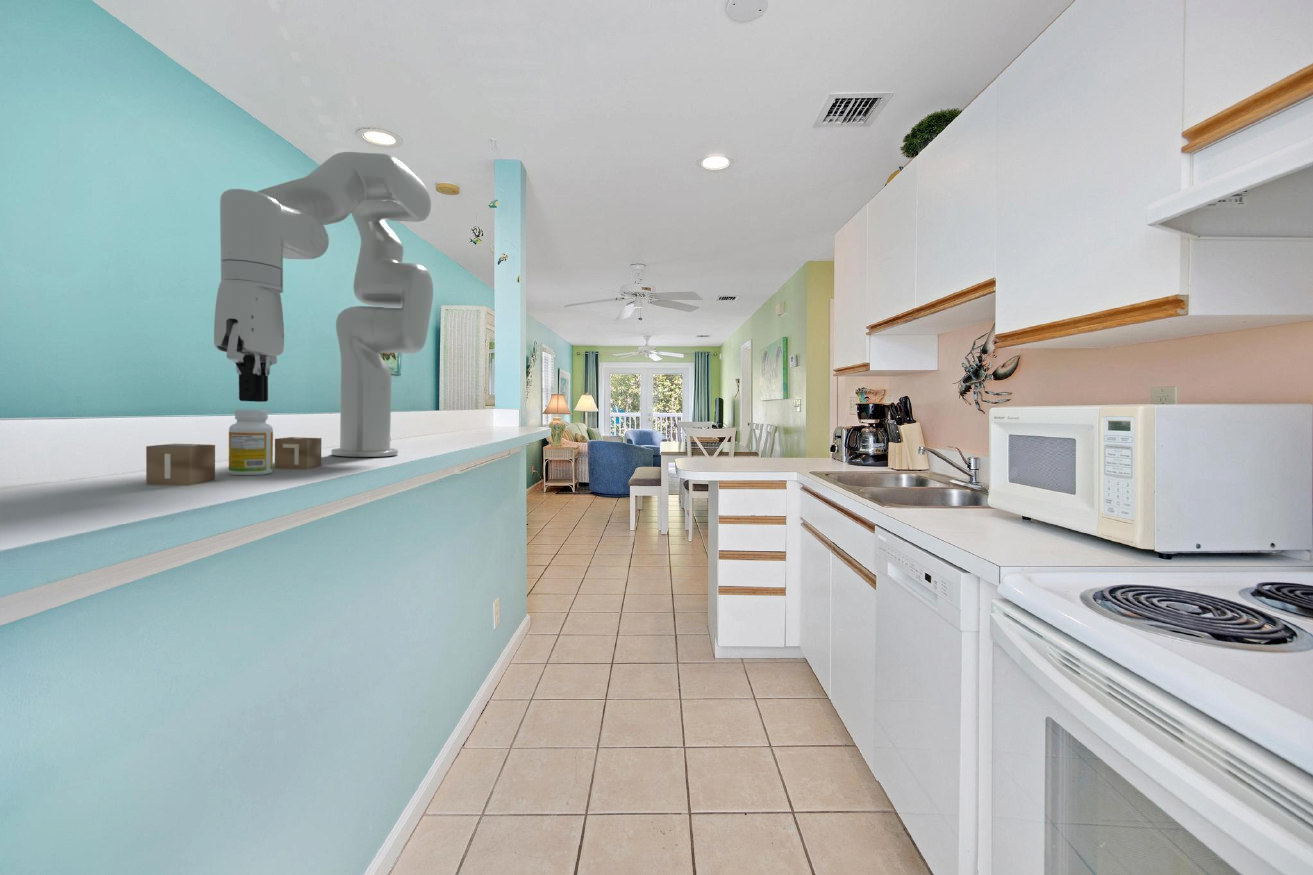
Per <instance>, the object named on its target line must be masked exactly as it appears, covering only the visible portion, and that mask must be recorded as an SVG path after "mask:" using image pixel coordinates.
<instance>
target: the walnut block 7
mask: <svg viewBox="0 0 1313 875" xmlns="http://www.w3.org/2000/svg"><path fill="white" fill-rule="evenodd" d="M321 466H322V437H298V436H294V437H292V436H289V437H282V438H281V437H279V438H274V469H284V470H287V469H288V470H289V469H291V470H292V469H293V470H308V469H314V468H320V467H321Z"/></svg>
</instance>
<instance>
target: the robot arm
mask: <svg viewBox="0 0 1313 875" xmlns="http://www.w3.org/2000/svg"><path fill="white" fill-rule="evenodd" d="M431 209H432V202H431V197H430V193H429V192H428V189H427V187H426V185H425V184H424V183H423V182H422V180H421V179H420V178H419V177H418V176H416V174H415V173H414V172H412V171H411V170H410V168H409V167H408V166H407V165H405V164H404V163H403V162H402V161H400V160H399V159H397V158H396V157H395V156H392V155H390V154H387V153H378V152H377V153H375V152H358V151H341V152H337V153H335V154H333V155H332V156H330V157H329V158H328V159H326V160H325V161H324V162H323V163H321V164H320V165H319V166H317V167H316V168H315V169H314V170H312V171H311V172H310V173H309V174H308V175H306V176H304V177H301V178H296V179H293V180H289V181H287V182H283V183H280V184H277V185H273V186H269V187H266V188H263V189H259V190H257V191H254V190H250V189H244V188H243V189H242V188H231V189H227V190H225V191H223V192H222V193H221V195H220V201H219V214H220V215H219V218H220V219H219V222H220V224H219V228H220V230H219V231H220V233H219V234H220V237H219V239H220V240H219V241H220V282H219V285H218V289H217V294H216V300H215V311H214V323H213V324H214V325H213V326H214V327H213V328H214V329H213V343H214V348H216V350H218V351H220V352H223V353H226V358H227V359H228V360H230V361H231V362H234V364H235V369H236V373H237V375H238V400H239V401H241V402H257V403H260V402H261V403H262V402H264V403H266V402H268V401H269V376H270V374H271V373H270V372H271V367H272V366H273V365H276V364H277V362H278V357H279V356H281V355H282V354H283V353H284V347H285V327H284V326H285V325H284V312H283V303H282V302H283V301H282V297H281V294H283V293H284V265H283V264H284V261H283V260H284V259H286V260H287V259H288V260H289V259H290V260H314V259H317V258H320V257H322V256H323V255H325V253H326V252H327V251H328V248H329V244H330V241H329V239H330V237H329V234H328V231H327V229H326V227H325V226H328V225H332V224H337V223H340V222H342V221H344V220H345V219H347V218H348V217H349V216H350V214H351V215H352V218H353V221H354V223H355V224H356V228H357V230H358V233H359V237H360V248H359V254H358V259H357V262H356V263H357V264H356V269H355V273H354V280H353V293H354V295H355V297H356V299H357V300H358V301H360V303H362V304H365V305H359V306H358V305H357V306H350V307H347V308H344V309H343V310H341V312H339V314H338V315H337V318H336V321H335V322H336V323H335V330H336V336H337V340H338V346H339V347H338V348H339V353H340V369H341V370H340V426H339V427H340V428H339V430H340V433H339V437H340V438H339V440H340V441H339V444H340V445H339V448H338V447H337V448H332V449H331V450H330V452H331V456H336V457H337V456H338V457H347V458H348V457H349V458H350V457H351V458H376V457H377V458H378V457H379V458H380V457H392V456H393V457H394V456H397V455H398V454H399V451H398V449H396V448H391V441H392V438H391V417H392V416H391V415H392V414H391V413H392V412H391V411H392V373H391V372H392V371H391V370H390V367H389V366H388V364H387V363H386V362H385V360H384V359H383V357H382V356H381V354H385V353H386V354H387V353H388V354H389V353H390V354H409V355H410V354H416V353H418V352H421V350H422V349H423V348H424V347H425V345H426V341H427V338H428V331H429V325H430V320H431V319H430V318H431V311H432V306H433V301H434V300H433V299H434V283H433V279H432V277H431V274H430V272H429V271H428V269H427V268H425V267H424V266H423V265H421V264H418V263H413V262H403V259H404V254H405V252H404V246H403V243H402V242H401V240H400V239H399V237H398V236H397V235H396V233H395V232H394V231H393V230H392V229H391V228H390V227H389V225H388V224H387V223H386V221H390V222H391V221H392V222H394V221H395V222H412V223H414V222H415V223H417V222H423V221H425V220H426V219H427V218H428V217H429V215H430V214H431Z"/></svg>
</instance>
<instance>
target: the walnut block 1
mask: <svg viewBox="0 0 1313 875" xmlns="http://www.w3.org/2000/svg"><path fill="white" fill-rule="evenodd" d="M145 447H146V448H145V453H146V454H145V457H146V458H145V460H146V462H145V466H146V469H145V470H146V471H145V472H146V474H145V475H146V478H145V480H146V485H153V486H156V485H161V486H162V485H165V486H167V485H169V486H192V485H197V484H202V483H203V484H204V483H208V482H212V481H216V444H202V443H201V444H200V443H198V444H195V443H168V444H156V445H146V446H145Z"/></svg>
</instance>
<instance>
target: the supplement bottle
mask: <svg viewBox="0 0 1313 875" xmlns="http://www.w3.org/2000/svg"><path fill="white" fill-rule="evenodd" d="M268 415H269V413H268V410H265V409H235V410H234V419H235V420H236V422H235V423H233V424H230V426H229V428H228V473H229V474H230V475H232V476H263V475H269V474H272V472H273V470H274V467H273V465H274V461H273V460H274V459H273V457H274V450H273V449H274V447H273V446H274V444H273V443H274V429H273V426H272V425H270V424H268V423H267V422H266V421H267V420H268V417H269V416H268Z"/></svg>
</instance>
